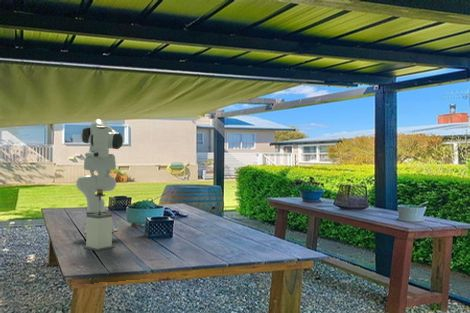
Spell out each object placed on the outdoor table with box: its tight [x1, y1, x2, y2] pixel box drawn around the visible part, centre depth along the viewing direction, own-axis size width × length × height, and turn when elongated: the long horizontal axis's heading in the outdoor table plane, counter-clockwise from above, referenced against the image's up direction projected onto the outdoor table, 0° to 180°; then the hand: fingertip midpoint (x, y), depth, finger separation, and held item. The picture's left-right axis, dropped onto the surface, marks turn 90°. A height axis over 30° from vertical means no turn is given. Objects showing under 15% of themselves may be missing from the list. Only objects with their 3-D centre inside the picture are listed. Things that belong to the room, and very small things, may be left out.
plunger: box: [95, 189, 106, 215], centre depth 251 cm, size 7×7×19 cm
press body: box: [83, 212, 115, 252], centre depth 251 cm, size 12×12×20 cm
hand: (100, 177), depth 251 cm, fingers open, 8 cm apart
